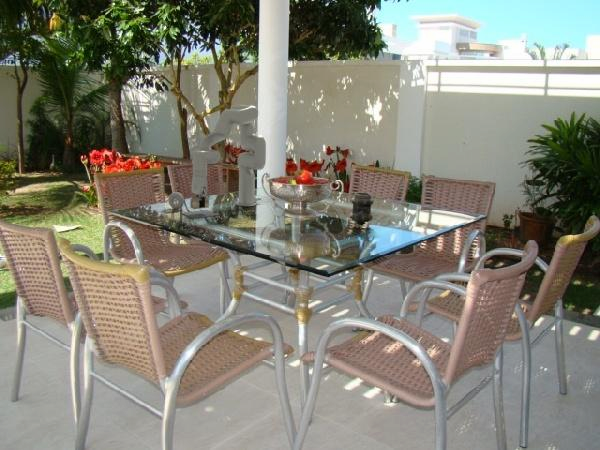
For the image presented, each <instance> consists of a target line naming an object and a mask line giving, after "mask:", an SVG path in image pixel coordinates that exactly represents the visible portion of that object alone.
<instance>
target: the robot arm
mask: <svg viewBox="0 0 600 450" xmlns="http://www.w3.org/2000/svg"><path fill="white" fill-rule="evenodd" d="M258 117H259V110H258V108H257V107H256V106H254V105H248V104H235V105H232V107H231V108H227V109H224V110H223V111H222V112H221V114H220V115H219V118H218V120H217V122H216V124H215V126H214V129H213V131H211V132H210V133H208V134H207V135H206V136H205V137H204V138H203V139H201V141H200V142H199V144H198V147H197V150H194V151H193V152H192V178H191V193H192V194H193V197H194V196H200V200H199V207H200V209H203V208H202V207H205V198H206V197H207V196H208V178H207V177H208V164H211V165H212V164H213V165H214V164H217V163H219V162H220V160H221V156H222V155H221V153H220V152H219V151H218V150H215V149H210V148H211V147H212V146H213V145H215V144H216V143H217V144H218V143H219V142H222V141H225V140H226V139H228V137H229V134H230V132H231V130H232V128H233V127H234V126H239V137H240V138H239V142H240V145H239V146H240V148H241V149H242V150H244V152H241V153H240V154H239V155H238V156H237V166H238V201H236V202H235V204H236V205H237V206H240V207H241V206H242V207H252V206H257V205H258V202H257V201H261V200H262V197H261V196H260V197H259V196H258V197H256V196H255V193H256V190H255V189H256V188H255V186H256V183H255V182H256V176H255V172H254V171H255V170H257V171H261V170H263V169H264V168H265V166H266V162H267V161H266V159H267V146H266V145H267V143H266V142H267V141H266V140H265V138H264V136H262V135H260V134H255V132H256V130H255V124H254V121H256V120H257V118H258ZM245 151H246V152H245ZM251 151H252V152H251Z"/></svg>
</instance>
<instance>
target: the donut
mask: <svg viewBox="0 0 600 450" xmlns="http://www.w3.org/2000/svg"><path fill="white" fill-rule="evenodd" d="M175 199H177V203H176V201H175ZM168 204H169V206H170V208H172V209H173V210H180V209H181V208H182V207H184V204H185V198H184V196H183V194H181V193H180V192H178V191H173V192H171V194H169V197H168Z"/></svg>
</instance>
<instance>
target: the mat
mask: <svg viewBox="0 0 600 450" xmlns="http://www.w3.org/2000/svg"><path fill="white" fill-rule="evenodd" d="M180 215H182V216H184V217H187V218H189V219H192V220H196V219H203V218H212V217H219V216H220V214H218V213H216V212H213V211H210V210H208V209H204V210H202V209H201V210H196V211H195V210H194V211H185V212H180Z"/></svg>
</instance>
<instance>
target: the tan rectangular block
mask: <svg viewBox="0 0 600 450" xmlns="http://www.w3.org/2000/svg"><path fill="white" fill-rule="evenodd" d="M199 200H200V196H194V195H193V196H190V201H189V203H190V205H189V207H190V208H191V209H193V210H198V209H200V210H201V209H207V208H208V209H209V208H210V196H208V195H207V197H206V198H205V207H202V208H200V207H199Z"/></svg>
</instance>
